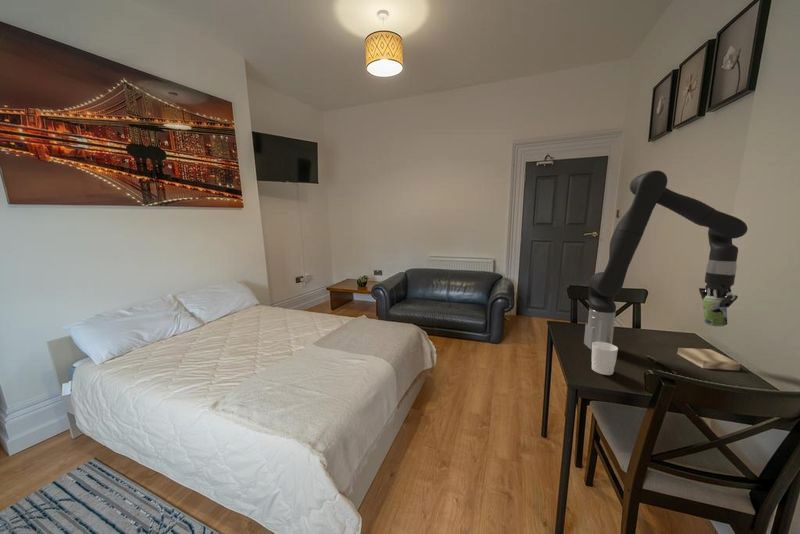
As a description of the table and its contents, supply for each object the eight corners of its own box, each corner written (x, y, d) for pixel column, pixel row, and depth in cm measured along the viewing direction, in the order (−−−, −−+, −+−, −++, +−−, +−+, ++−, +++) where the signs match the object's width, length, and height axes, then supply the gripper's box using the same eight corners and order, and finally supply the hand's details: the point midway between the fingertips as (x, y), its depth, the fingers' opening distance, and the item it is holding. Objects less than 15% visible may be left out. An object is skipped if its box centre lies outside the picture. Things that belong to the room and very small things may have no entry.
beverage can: (731, 328, 107) (737, 298, 104) (708, 327, 108) (713, 297, 106) (716, 322, 113) (721, 293, 111) (695, 321, 114) (699, 293, 112)
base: (702, 368, 108) (704, 360, 107) (677, 354, 119) (678, 347, 119) (739, 370, 106) (740, 363, 106) (709, 355, 118) (710, 349, 117)
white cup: (595, 363, 112) (597, 339, 110) (618, 372, 105) (621, 347, 104) (585, 369, 108) (588, 344, 106) (609, 378, 101) (612, 352, 100)
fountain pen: (679, 376, 103) (680, 372, 103) (676, 375, 103) (676, 372, 103) (646, 357, 117) (647, 354, 117) (643, 357, 117) (644, 354, 117)
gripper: (693, 269, 114) (687, 310, 117) (726, 275, 101) (719, 321, 104) (714, 269, 113) (708, 310, 116) (751, 275, 100) (743, 321, 103)
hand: (713, 315), depth 110 cm, fingers closed
